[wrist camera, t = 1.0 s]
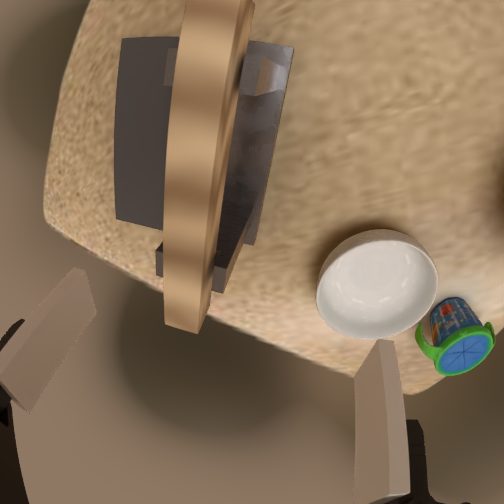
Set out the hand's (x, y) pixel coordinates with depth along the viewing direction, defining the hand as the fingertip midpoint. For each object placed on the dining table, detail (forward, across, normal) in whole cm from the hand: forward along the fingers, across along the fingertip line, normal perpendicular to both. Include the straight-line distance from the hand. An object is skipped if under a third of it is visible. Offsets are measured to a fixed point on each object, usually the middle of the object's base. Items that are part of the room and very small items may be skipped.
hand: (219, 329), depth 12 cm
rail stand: (+29, -6, +1) cm, 29 cm away
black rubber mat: (+29, -19, 0) cm, 34 cm away
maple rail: (+16, -6, +1) cm, 17 cm away
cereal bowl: (+29, +16, -13) cm, 35 cm away
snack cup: (+29, +34, -19) cm, 48 cm away
